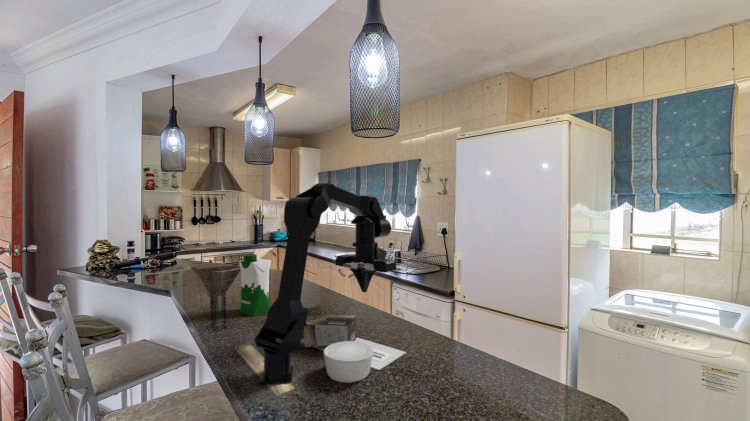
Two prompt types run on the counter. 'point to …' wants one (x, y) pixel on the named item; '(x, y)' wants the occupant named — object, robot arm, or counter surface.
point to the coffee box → (328, 330)
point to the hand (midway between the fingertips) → (364, 292)
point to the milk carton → (254, 285)
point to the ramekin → (348, 361)
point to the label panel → (380, 354)
